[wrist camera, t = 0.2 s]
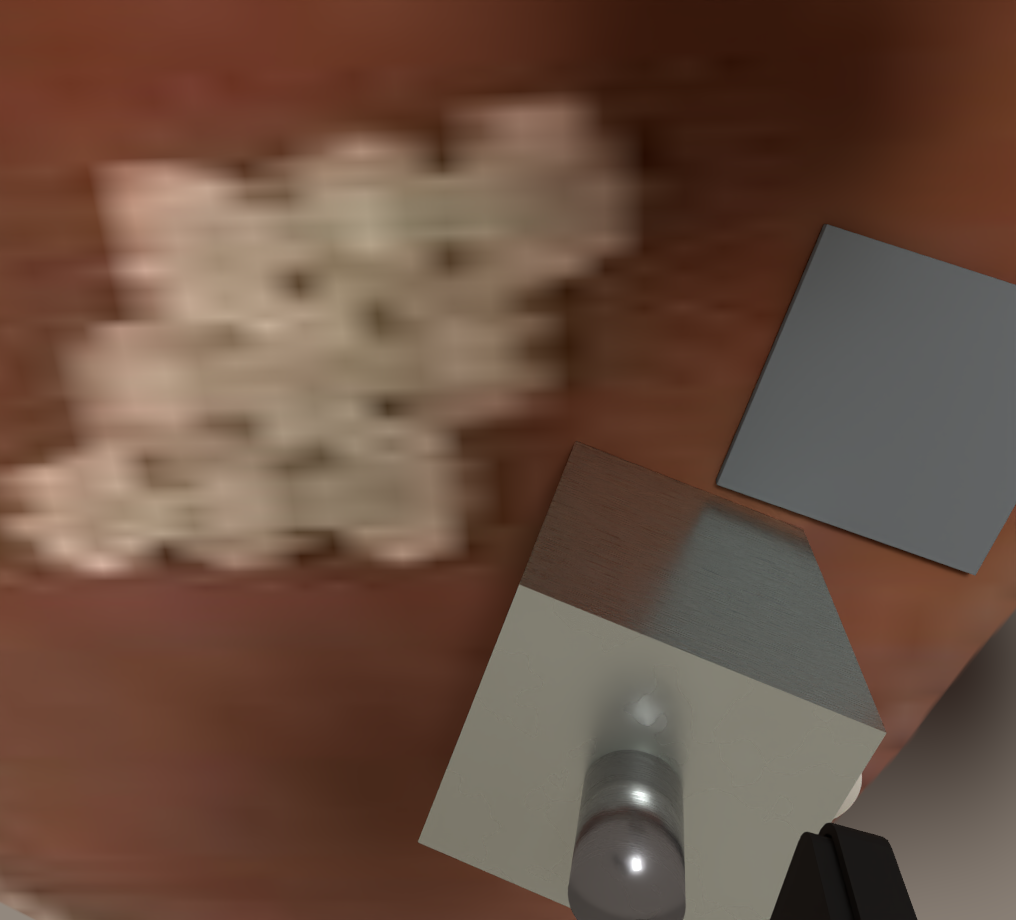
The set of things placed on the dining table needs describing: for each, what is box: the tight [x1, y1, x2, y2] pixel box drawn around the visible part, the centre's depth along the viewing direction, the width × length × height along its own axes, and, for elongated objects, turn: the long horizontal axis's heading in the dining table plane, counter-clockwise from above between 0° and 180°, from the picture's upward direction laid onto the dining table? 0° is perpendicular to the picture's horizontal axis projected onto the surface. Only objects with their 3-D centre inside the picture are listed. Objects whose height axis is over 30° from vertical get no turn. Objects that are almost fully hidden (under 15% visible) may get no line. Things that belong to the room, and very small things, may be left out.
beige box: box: [418, 441, 886, 920], centre depth 36 cm, size 12×13×23 cm
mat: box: [716, 224, 1016, 575], centre depth 42 cm, size 14×14×1 cm
